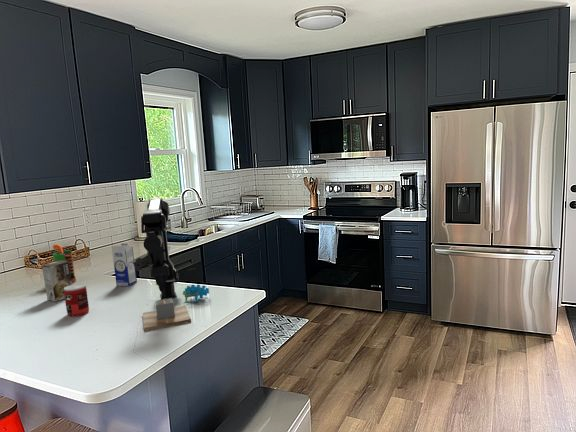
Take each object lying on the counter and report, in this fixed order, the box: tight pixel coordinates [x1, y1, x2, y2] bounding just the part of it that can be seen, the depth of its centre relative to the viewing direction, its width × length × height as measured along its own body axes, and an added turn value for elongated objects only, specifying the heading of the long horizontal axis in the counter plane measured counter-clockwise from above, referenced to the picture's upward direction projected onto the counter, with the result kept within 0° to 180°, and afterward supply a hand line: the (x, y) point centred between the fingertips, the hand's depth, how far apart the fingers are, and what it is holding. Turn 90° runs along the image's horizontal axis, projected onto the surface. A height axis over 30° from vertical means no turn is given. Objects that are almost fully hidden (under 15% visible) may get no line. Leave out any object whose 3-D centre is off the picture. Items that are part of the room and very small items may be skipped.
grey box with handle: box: [155, 298, 175, 320], centre depth 157 cm, size 6×6×6 cm
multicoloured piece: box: [52, 243, 77, 284], centre depth 216 cm, size 10×9×20 cm
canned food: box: [64, 283, 90, 317], centre depth 170 cm, size 8×8×11 cm
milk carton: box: [111, 243, 138, 287], centre depth 206 cm, size 7×7×20 cm
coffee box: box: [41, 260, 73, 302], centre depth 191 cm, size 9×6×16 cm
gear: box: [182, 284, 210, 303], centre depth 176 cm, size 11×6×10 cm
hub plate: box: [142, 305, 192, 332], centre depth 157 cm, size 16×16×5 cm
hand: (160, 287), depth 157 cm, fingers open, 9 cm apart
